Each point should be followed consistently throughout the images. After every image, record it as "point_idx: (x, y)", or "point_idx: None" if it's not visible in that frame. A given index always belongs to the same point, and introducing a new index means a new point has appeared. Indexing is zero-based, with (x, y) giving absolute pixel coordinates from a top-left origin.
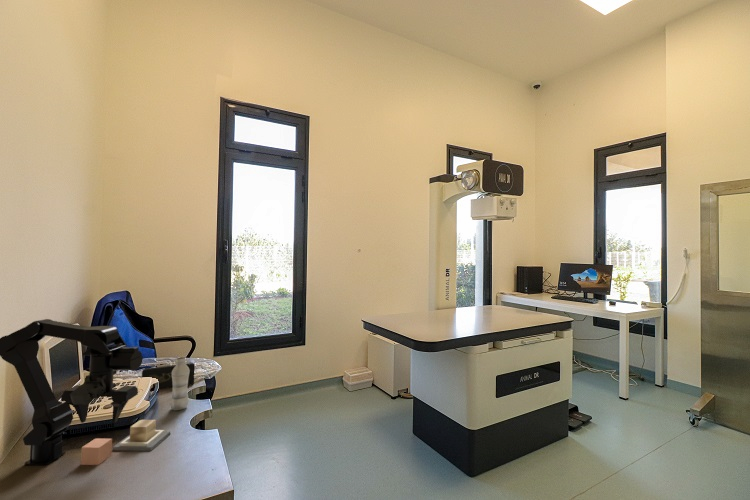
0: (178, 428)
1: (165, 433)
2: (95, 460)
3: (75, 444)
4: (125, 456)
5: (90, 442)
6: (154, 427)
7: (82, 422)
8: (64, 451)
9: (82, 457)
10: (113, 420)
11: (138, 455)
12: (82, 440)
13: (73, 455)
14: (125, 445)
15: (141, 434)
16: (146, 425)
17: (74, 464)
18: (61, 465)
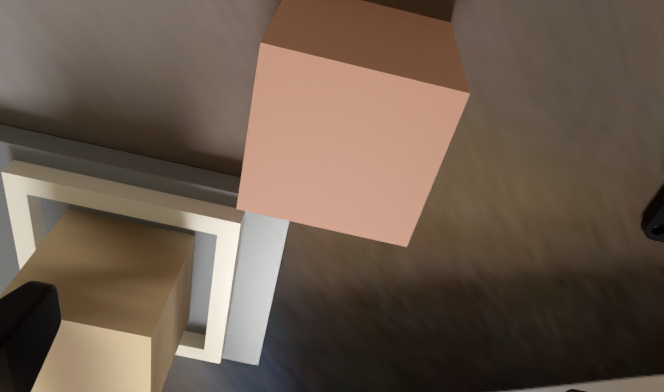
0: None
1: None
2: (314, 3)
3: (602, 317)
4: (133, 76)
5: (419, 180)
6: None
7: (573, 390)
8: (652, 234)
9: (445, 45)
10: (4, 310)
11: (32, 68)
12: (572, 350)
13: (567, 183)
14: (198, 202)
15: (72, 263)
16: None
17: (508, 38)
18: (616, 46)
